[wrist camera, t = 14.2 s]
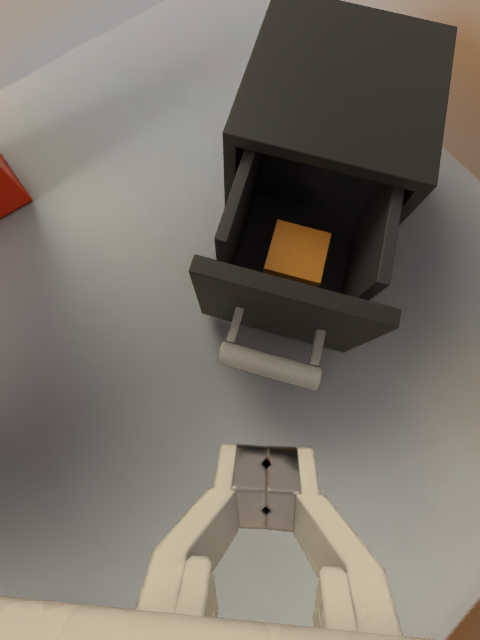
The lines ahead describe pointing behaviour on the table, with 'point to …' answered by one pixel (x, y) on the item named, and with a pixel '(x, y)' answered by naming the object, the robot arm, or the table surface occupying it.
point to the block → (297, 253)
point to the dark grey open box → (346, 94)
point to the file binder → (10, 190)
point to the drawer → (290, 296)
